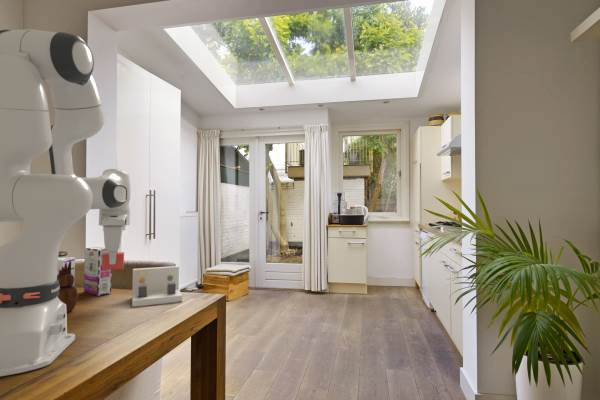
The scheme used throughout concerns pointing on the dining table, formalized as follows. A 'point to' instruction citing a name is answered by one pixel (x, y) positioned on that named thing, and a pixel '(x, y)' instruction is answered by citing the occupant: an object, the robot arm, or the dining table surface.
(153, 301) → the breaker panel
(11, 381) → the dining table surface
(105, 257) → the cap
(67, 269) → the wooden figurine
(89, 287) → the candy bar box
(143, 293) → the block
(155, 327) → the dining table surface
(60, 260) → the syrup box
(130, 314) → the dining table surface
